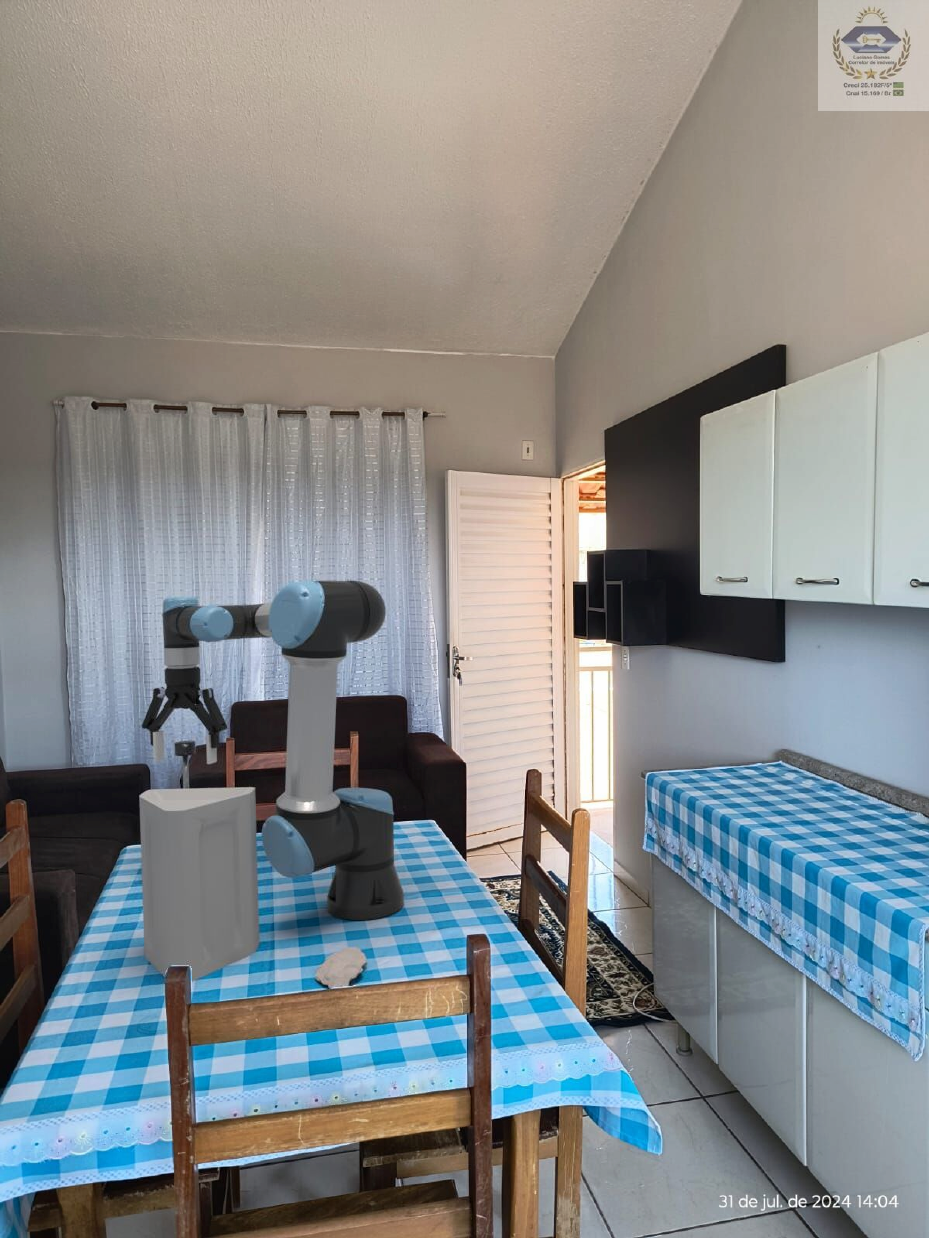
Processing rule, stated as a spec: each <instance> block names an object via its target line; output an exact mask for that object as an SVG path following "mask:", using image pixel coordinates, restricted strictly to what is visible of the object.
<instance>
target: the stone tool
mask: <svg viewBox="0 0 929 1238" xmlns="http://www.w3.org/2000/svg"><path fill="white" fill-rule="evenodd" d="M366 964H367V957H366V954H365V953H364V952H362V950H361V948H359V947H356V946H350V947H349V946H348V947H346V948H342V949H341V950H339V951H335V952H333V953H332V954H331V955H329V956H327V957H326V958H325V959H324V962H323V963H322V964H320V965H318V966H316V968H317V970H316V973H315V976H314V978H315V980H316V981H318V983H321V984H322V985H324V986H328V989H330V988H333V987H343V986H348V987H349V985H350V982H351V981H352V980H353V979H357V976H358V975H359V974H361V973H363V970H364V969H363V968H362V967H363V966H365V965H366Z"/></svg>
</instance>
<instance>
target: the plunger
mask: <svg viewBox="0 0 929 1238" xmlns="http://www.w3.org/2000/svg"><path fill="white" fill-rule="evenodd" d="M173 745H174V756H176V757H182V780H183V781H182V784H183V785H182V786H183V788H182V789H190V777H189V776H190V774H189V773H190V772H189V756H193V755H195V754H196V753H197V752H196V741H195V740H181V741H176V742H174V744H173Z"/></svg>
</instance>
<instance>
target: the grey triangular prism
mask: <svg viewBox="0 0 929 1238" xmlns="http://www.w3.org/2000/svg"><path fill="white" fill-rule="evenodd" d="M138 798H139V800H138V801H139V823H140V824H139V825H140V826H139V827H140V829H139V830H140V831H139V832H140V855H141V856H140V857H141V860H140V861H141V884H142V885H141V886H142V887H141V888H142V890H141V891H142V912H143V913H142V917H143V921H142V922H143V944H144V946H143V948H144V949H143V950H144V952H143V953H144V958H145V959H146V960H147V961H148V962H149V963H150V964H151V965H152V966H153V967H154V968H155V969H156V970H157V971H158V972H159V973H160V972H161V973H160V974H161V975H162V974H163V975H162V976H163V977H164V978H165V972H166V970H167V968H168V967H169V966H171V965H189V966H191V968H192V982H193V981H196V980H198V979H201V978H203V977H205V976H207V975H209V974H211V973H214V972H217V971H219V970H221V969H223V968H225V967H227V966H229V965H232V964H233V963H236V962H238V961H240V960H243V959H245V958H247V957H249V956H252V955H254V954H255V953H256V951H257V950H258V949H259V946H260V921H259V920H260V916H259V915H260V914H259V885H258V883H259V880H258V877H259V876H258V848H257V846H258V844H257V843H258V842H257V841H258V839H257V812H256V808H257V807H256V804H257V803H256V787H252V786H248V787H247V786H246V787H244V786H243V787H204V788H203V787H201V788H189V789H183V788H165V789H164V788H161V789H159V788H158V789H156V788H155V789H148V790H146V791H144V792H142V793H141V794H139V797H138Z"/></svg>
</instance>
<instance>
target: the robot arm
mask: <svg viewBox="0 0 929 1238" xmlns="http://www.w3.org/2000/svg"><path fill="white" fill-rule="evenodd" d="M385 603H386V602H385V601H384V598H383V597H382V595H381V593H380V592H379V591H378V590H377V589H376V588H375V587H374V586H372V585H370V584H369V583H367V582H363V581H359V580H313V579H311V580H306V579H305V580H302V581H301V580H300V581H292V582H289V583H287V584H286V585H284V586H282V587H280V589H279V591H278V592H277V593H276V594H275V595H274V597H273V600H272V602H268V603H266V602H265V603H255V604H238V605H237V604H235V605H231V604H230V605H228V604H227V605H199V601H198V599H197V597H195V596H176V597H175V596H174V597H172V596H170V597H169V596H168V597H165V598H164V599H163V601H162V613H161V616H162V627H163V628H162V629H163V630H162V632H163V634H162V635H163V664H164V666H166V668H164V684H165V685H166V688H165V687H164V686H161V687H155V688H153V690H152V691H153V692H152V700H151V701H150V703H149V704H150V705H149V706H148V709H147V711H146V715H145V716H144V719H143V722H142V724H141V728H142V729H143V730H144V729H145V730H147V731H149V734H150V745H151V747H153V748H152V749H153V753H152V754H153V762H160V761H163V760H165V745H164V743H165V741H164V739H165V737H164V735H165V734H164V730H162V727H163V725H164V724H165V723H166V721H167V720H168V718H169V717H170V716H171V714H172V713H173V711H174V710H175V709H176V710H177V709H183V710H188V709H189V710H190V711H191V712H193V713H194V714H195V716H196V717H197V718H198V719H199V721H200V722H201V723H202V724H203V727H204V728H205V729H206V730H207V731H208V733H207V734H205V735H206V737H205V738H206V739H205V740H206V744H205V745H206V765H211V764H214V763H216V762H218V757H217V756H218V752H217V751H218V750H217V749H218V748H219V747H220V733H221V732H223V731H225V730H227V729H228V725H227V723H226V720H225V719H224V718H225V717H224V716H223V714H222V712H221V710H220V708H219V706H218V704H217V703H218V702H216V699H215V695H214V694H215V693H214V689H213V688H212V687H208V688H204V689H201V687H200V684H201V680H202V679H201V668H200V666H198V665H200V663H201V662H200V661H201V657H200V656H201V654H200V652H201V651H200V642H205V643H216V642H217V643H218V642H222V641H227V640H240V639H241V640H242V639H244V640H245V639H259V638H261V639H265V638H266V639H267V638H272V640H273V641H274V643H275V644H276V645H278V647H281V656H282V657H283V658H284V659H285V660H286V661H287V662H288V664H289V672H288V673H289V675H288V676H289V677H288V701H287V702H288V707H287V729H286V730H287V731H286V732H287V733H286V758H285V760H286V761H285V762H286V765H285V790H284V792H283V793H282V794H281V795H280V796H279V797H277V799H276V801H275V802H276V805H275V815H271V816H269V817H268V818H267V819H266V820H265V822H264V823H263V825H262V829H261V843H262V846H263V851H264V853H265V856H266V858H267V859H268V861H269V863H270V865H271V867H272V868H273V869H274V870H275V871H276V873H278V874H280V875H281V876H282V877H285V878H288V879H294V878H299V877H302V876H310V875H312V874H313V873H315V872H319V871H322V870H324V869H325V870H326V869H328V868H330V867H331V868H332V867H334V873H333V876H332V879H331V883H330V885H329V889H328V892H327V896H326V906H327V907H326V908H327V909H326V910H327V911H328V913H330V914H331V915H332V916H334V917H336V918H340V919H343V920H349V921H350V920H352V921H366V920H367V921H368V920H374V919H375V920H376V919H380V918H384V917H388V916H391V915H393V914H396V913H397V912H399V911H400V910H401V909H402V908H403V906H404V904H405V901H404V898H405V897H404V895H405V894H404V889H403V887H402V883H401V881H400V878H399V876H398V873H397V869H396V867H395V851H394V850H395V845H394V843H395V841H394V840H395V839H394V836H395V835H394V833H395V832H394V828H395V827H394V815H395V812H394V808H393V798H392V796H391V795H390V794H389V792H387V791H384V790H381V789H377V788H376V789H375V788H368V787H366V788H365V787H343V788H338V789H336V790H334V791H333V787H334V786H333V785H334V761H335V741H336V740H335V738H336V737H335V736H336V716H337V715H336V714H337V713H336V709H337V692H338V691H337V688H338V687H337V686H338V666H339V665H340V663H342V661H343V660H344V659H346V658H347V650H348V644H350V643H351V644H353V643H357V642H362V641H366V640H369V639H370V638H372V637H374V636H375V635H376V634H377V633H378V632H379V631H380V629H381V628H382V626H383V625H384V622H385V619H386V615H387V612H386V611H387V609H386V605H385ZM165 697H166V698H167V700H166V702H165V703H164V705H163V708H161V707H162V704H163V702H164V700H165ZM200 698H201V699H202V700H203V702H202V700H201V699H200ZM204 705H205V707H204ZM160 710H161V711H160Z"/></svg>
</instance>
